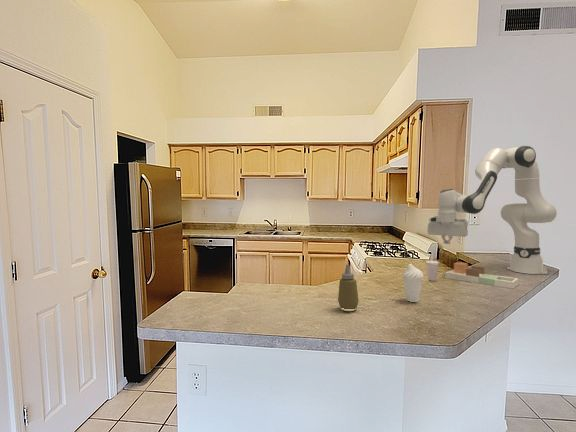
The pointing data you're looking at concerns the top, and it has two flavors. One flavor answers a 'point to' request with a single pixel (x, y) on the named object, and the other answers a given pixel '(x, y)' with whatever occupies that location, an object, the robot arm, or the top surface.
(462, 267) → the block
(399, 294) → the top surface
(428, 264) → the smoothie
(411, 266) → the soft serve ice cream cone
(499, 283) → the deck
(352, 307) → the squeeze bottle
